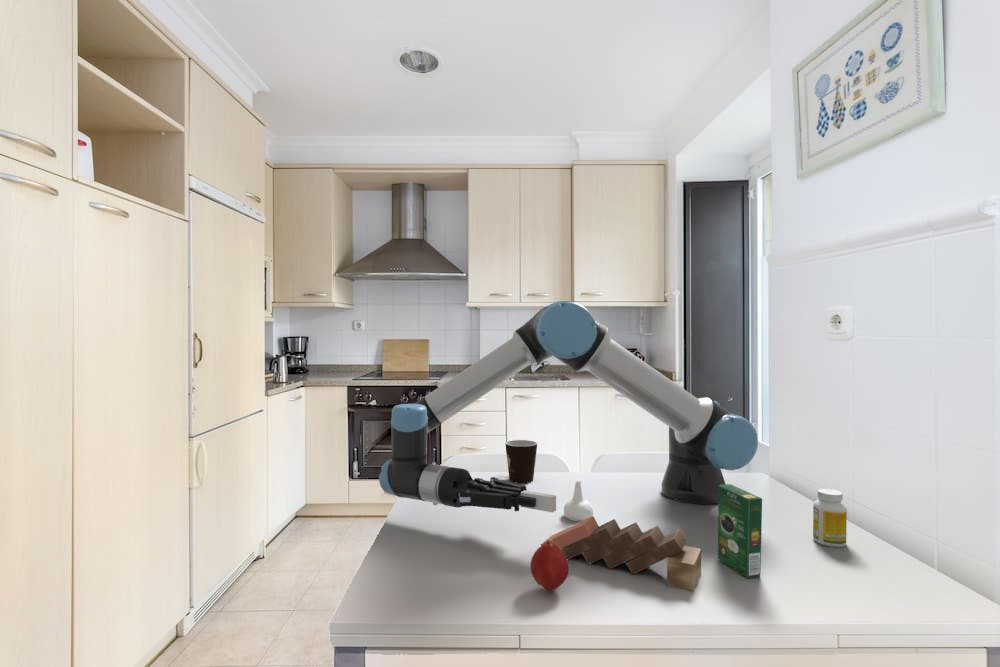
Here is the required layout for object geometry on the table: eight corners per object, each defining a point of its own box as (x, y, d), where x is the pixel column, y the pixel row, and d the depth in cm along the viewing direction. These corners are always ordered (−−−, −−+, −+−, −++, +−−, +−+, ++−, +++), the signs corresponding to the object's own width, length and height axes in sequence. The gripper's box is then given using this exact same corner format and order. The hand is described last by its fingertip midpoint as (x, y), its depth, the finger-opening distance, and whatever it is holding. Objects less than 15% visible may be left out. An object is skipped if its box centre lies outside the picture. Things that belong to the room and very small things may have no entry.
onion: (528, 582, 84) (528, 532, 84) (564, 581, 84) (564, 531, 84) (533, 601, 78) (533, 546, 78) (572, 599, 79) (572, 545, 79)
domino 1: (540, 544, 95) (583, 524, 91) (551, 535, 99) (593, 515, 95) (545, 555, 94) (589, 535, 90) (556, 545, 99) (598, 526, 95)
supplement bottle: (806, 539, 102) (806, 489, 102) (824, 535, 104) (824, 486, 104) (835, 550, 97) (835, 497, 97) (853, 544, 99) (853, 493, 99)
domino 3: (582, 553, 91) (628, 531, 87) (592, 543, 95) (636, 522, 92) (588, 564, 91) (634, 542, 87) (597, 554, 95) (642, 532, 91)
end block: (667, 585, 83) (667, 559, 83) (675, 568, 89) (675, 544, 89) (693, 591, 81) (693, 564, 81) (701, 573, 87) (701, 548, 87)
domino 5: (625, 563, 87) (674, 538, 84) (633, 552, 92) (680, 528, 88) (632, 574, 87) (681, 550, 83) (640, 563, 91) (687, 539, 87)
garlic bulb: (576, 513, 119) (573, 476, 119) (599, 517, 114) (596, 479, 115) (558, 519, 114) (555, 482, 115) (582, 524, 110) (579, 485, 110)
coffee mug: (535, 485, 138) (535, 447, 138) (502, 483, 140) (502, 445, 140) (540, 474, 150) (540, 438, 150) (510, 472, 151) (510, 437, 151)
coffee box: (763, 578, 86) (763, 496, 86) (748, 580, 85) (748, 497, 85) (731, 558, 93) (731, 483, 94) (716, 559, 93) (716, 484, 93)
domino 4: (603, 558, 89) (650, 535, 85) (612, 547, 94) (657, 525, 90) (609, 569, 89) (657, 546, 85) (618, 558, 93) (664, 536, 89)
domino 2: (561, 549, 93) (605, 527, 89) (571, 539, 97) (614, 518, 93) (567, 560, 92) (612, 539, 89) (577, 549, 97) (620, 529, 93)
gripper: (464, 495, 113) (567, 514, 102) (427, 513, 102) (539, 536, 91) (464, 460, 114) (568, 474, 102) (427, 474, 102) (539, 492, 91)
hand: (554, 503), depth 96 cm, fingers closed
